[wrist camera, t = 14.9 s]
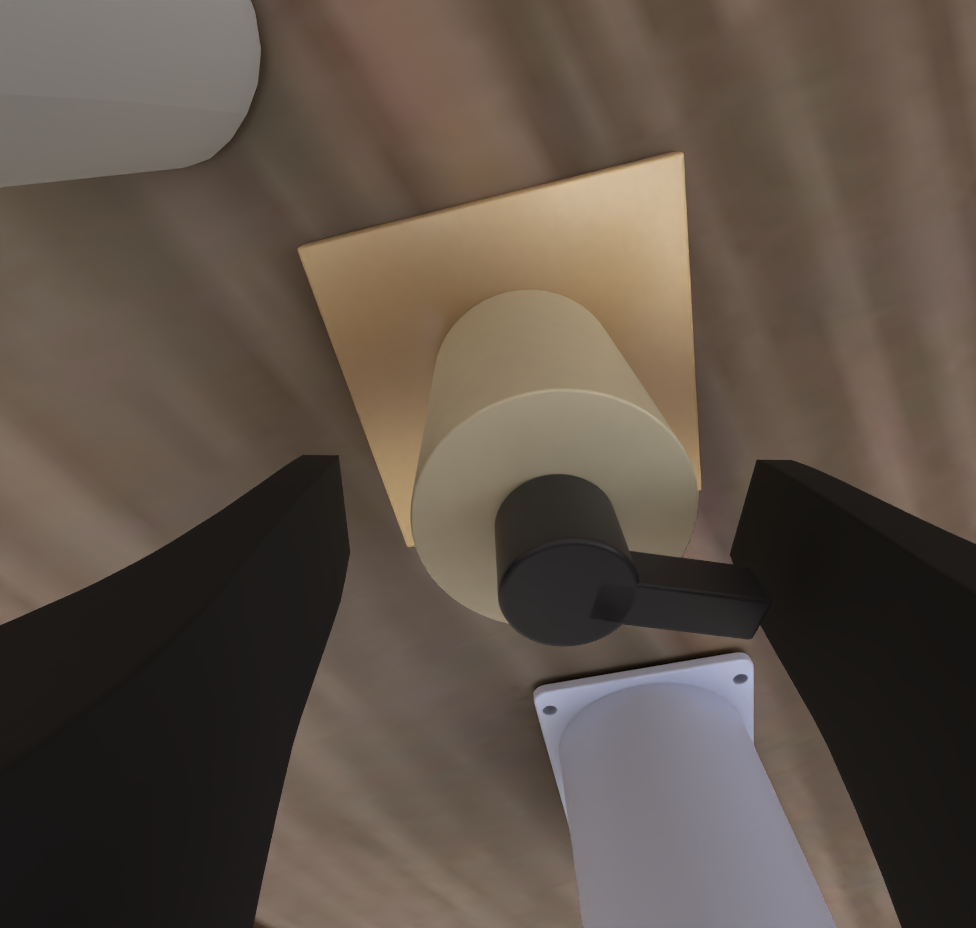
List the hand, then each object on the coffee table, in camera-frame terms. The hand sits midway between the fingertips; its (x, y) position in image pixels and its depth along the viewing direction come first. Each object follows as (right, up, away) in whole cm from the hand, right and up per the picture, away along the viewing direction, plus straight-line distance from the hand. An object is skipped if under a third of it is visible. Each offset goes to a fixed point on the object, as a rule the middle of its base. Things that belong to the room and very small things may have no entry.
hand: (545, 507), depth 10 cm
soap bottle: (0, +3, +5) cm, 6 cm away
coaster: (0, +3, +6) cm, 6 cm away
